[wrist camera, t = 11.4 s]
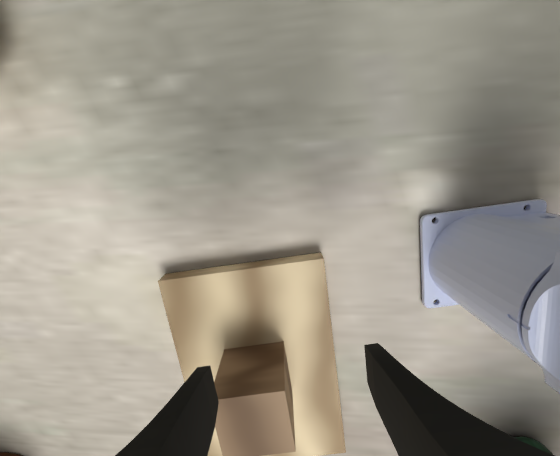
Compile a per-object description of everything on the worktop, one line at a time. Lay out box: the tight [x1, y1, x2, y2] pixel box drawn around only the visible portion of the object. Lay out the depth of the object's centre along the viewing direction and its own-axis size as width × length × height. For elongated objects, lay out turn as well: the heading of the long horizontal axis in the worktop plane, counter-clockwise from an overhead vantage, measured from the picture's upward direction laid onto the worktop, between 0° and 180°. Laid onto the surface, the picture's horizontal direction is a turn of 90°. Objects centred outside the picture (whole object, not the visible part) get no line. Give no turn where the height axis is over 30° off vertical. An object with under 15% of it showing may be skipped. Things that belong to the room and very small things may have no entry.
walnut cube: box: [214, 341, 296, 456], centre depth 20 cm, size 5×5×5 cm
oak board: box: [158, 252, 346, 456], centre depth 23 cm, size 13×19×2 cm
